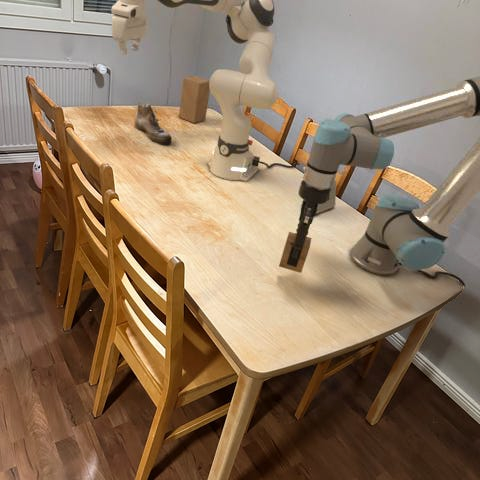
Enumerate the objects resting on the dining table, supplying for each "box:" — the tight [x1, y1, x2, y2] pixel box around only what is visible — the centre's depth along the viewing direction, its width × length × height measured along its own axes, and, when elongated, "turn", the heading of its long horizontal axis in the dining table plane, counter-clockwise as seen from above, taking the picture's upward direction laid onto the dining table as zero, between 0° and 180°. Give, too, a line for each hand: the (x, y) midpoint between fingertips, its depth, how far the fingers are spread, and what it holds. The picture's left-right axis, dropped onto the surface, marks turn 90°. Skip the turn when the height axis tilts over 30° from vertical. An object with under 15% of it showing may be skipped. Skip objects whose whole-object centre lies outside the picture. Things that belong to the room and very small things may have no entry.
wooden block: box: [178, 75, 211, 124], centre depth 221 cm, size 10×10×20 cm
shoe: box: [134, 102, 172, 145], centre depth 194 cm, size 25×11×12 cm, turn 30°
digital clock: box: [315, 179, 337, 215], centre depth 164 cm, size 16×9×11 cm, turn 123°
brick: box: [278, 231, 312, 274], centre depth 120 cm, size 5×6×9 cm
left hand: (129, 51), depth 155 cm, fingers open, 8 cm apart
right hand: (292, 259), depth 121 cm, fingers closed on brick, 5 cm apart
